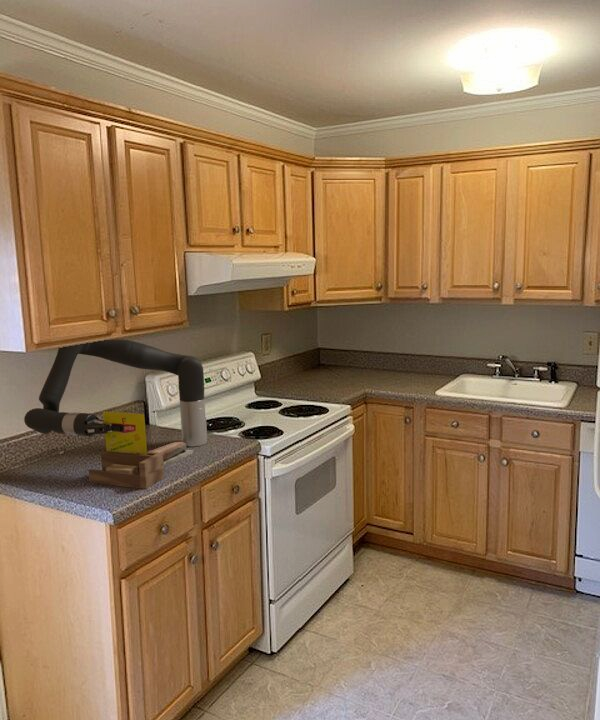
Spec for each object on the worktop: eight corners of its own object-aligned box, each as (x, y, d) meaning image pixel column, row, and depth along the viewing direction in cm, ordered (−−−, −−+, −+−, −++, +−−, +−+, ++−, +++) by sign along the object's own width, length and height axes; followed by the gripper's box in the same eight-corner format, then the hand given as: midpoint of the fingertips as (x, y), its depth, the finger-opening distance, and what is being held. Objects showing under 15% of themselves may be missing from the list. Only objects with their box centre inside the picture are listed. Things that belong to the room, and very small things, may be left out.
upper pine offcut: (114, 471, 190) (113, 463, 190) (138, 473, 187) (137, 466, 187) (106, 475, 187) (105, 467, 186) (130, 478, 184) (130, 470, 183)
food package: (107, 471, 193) (102, 411, 190) (109, 470, 194) (104, 410, 191) (147, 475, 189) (143, 414, 185) (149, 474, 190) (145, 413, 186)
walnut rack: (109, 471, 196) (107, 448, 195) (164, 477, 189) (162, 453, 188) (89, 482, 187) (87, 458, 185) (146, 488, 180) (144, 463, 178)
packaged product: (159, 455, 197) (136, 452, 202) (160, 469, 198) (138, 466, 203) (193, 441, 213) (171, 438, 218) (194, 454, 214) (172, 451, 218)
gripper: (64, 418, 188) (110, 421, 182) (92, 408, 200) (136, 411, 195) (66, 441, 189) (112, 445, 183) (94, 429, 202) (137, 433, 196)
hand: (124, 427), depth 189 cm, fingers closed on food package, 1 cm apart
